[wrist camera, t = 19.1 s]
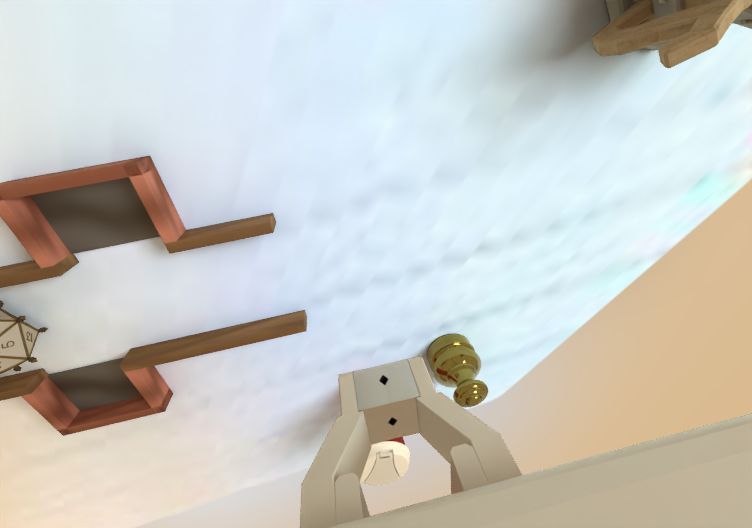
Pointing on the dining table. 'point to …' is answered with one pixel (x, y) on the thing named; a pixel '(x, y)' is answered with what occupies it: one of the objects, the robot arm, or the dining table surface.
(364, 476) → the paper cup
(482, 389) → the gold metal turned piece
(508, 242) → the dining table surface
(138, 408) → the trap channel
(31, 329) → the game die
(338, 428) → the robot arm
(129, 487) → the dining table surface
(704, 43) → the tankard
